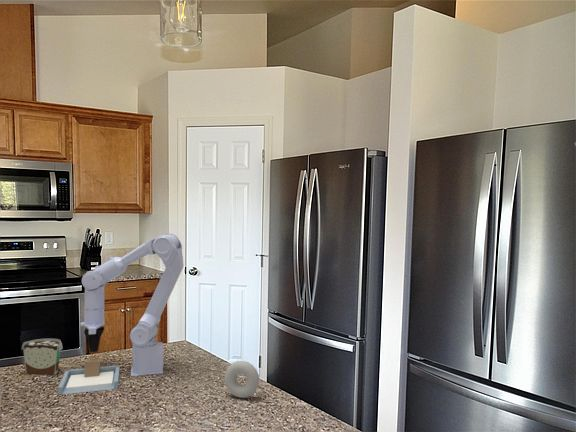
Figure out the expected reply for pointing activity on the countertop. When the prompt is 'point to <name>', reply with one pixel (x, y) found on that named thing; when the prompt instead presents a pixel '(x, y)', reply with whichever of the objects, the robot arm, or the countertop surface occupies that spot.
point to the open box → (81, 371)
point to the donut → (233, 384)
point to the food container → (42, 356)
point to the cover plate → (91, 377)
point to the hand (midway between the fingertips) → (94, 351)
